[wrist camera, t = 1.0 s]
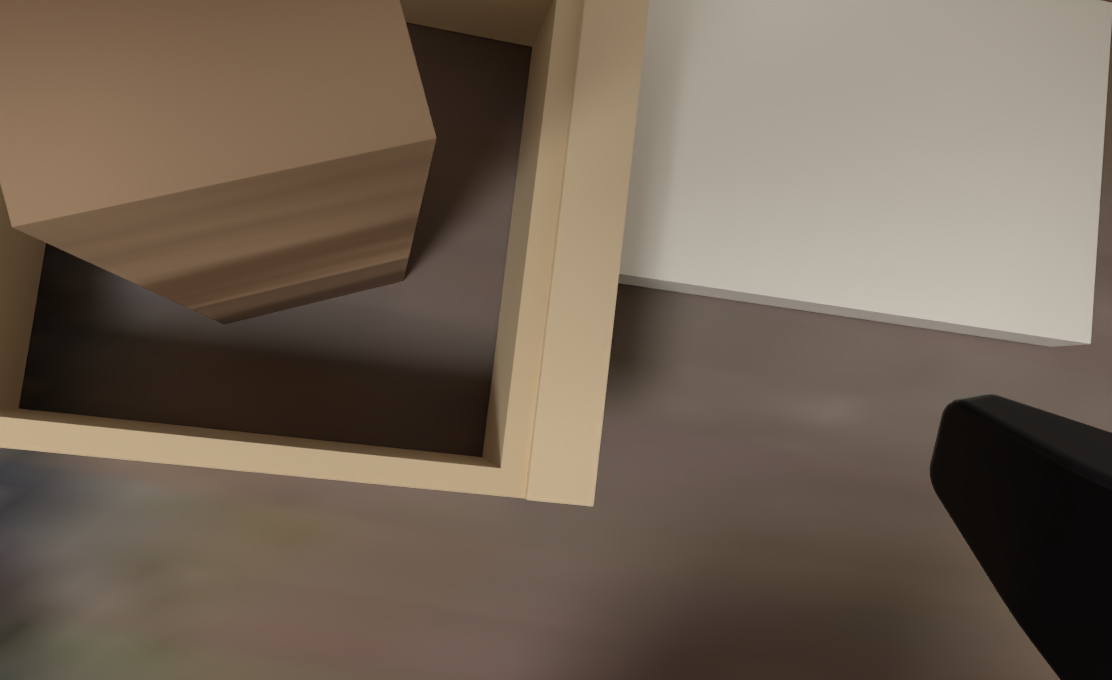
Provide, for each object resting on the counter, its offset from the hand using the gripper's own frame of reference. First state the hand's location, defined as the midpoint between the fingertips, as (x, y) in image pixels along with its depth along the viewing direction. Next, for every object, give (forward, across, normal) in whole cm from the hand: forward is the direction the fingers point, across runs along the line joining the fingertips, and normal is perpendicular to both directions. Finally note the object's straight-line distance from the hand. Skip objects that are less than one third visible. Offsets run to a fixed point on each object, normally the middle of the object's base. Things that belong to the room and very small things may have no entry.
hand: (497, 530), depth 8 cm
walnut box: (+16, +2, +3) cm, 17 cm away
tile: (+16, -14, +3) cm, 21 cm away
